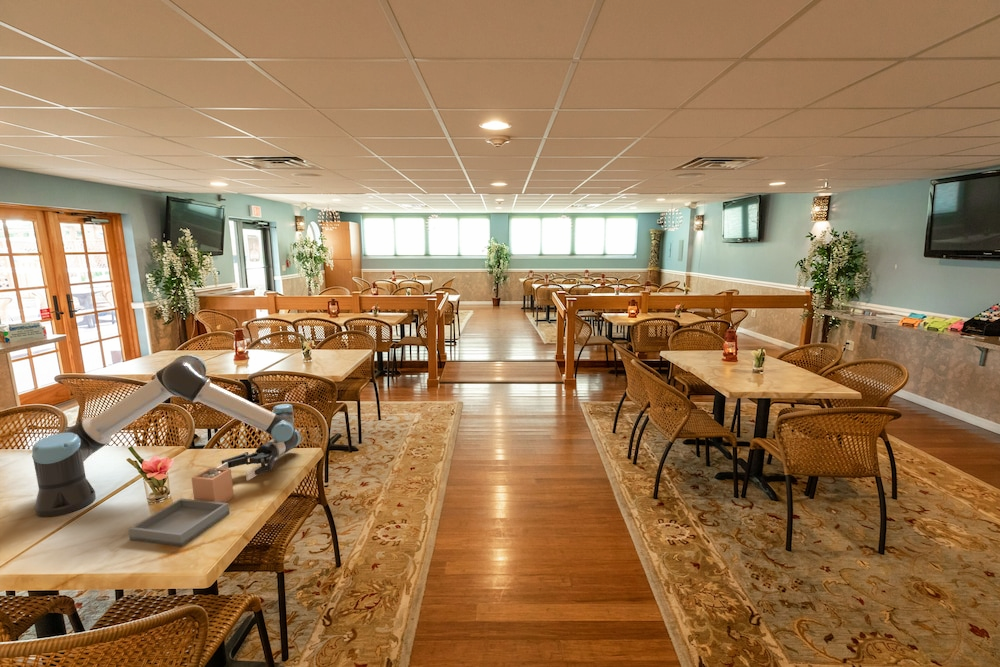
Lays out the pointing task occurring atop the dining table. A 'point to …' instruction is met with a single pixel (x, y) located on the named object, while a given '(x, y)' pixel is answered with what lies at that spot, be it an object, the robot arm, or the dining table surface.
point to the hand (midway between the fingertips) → (230, 475)
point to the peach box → (213, 485)
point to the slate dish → (179, 522)
